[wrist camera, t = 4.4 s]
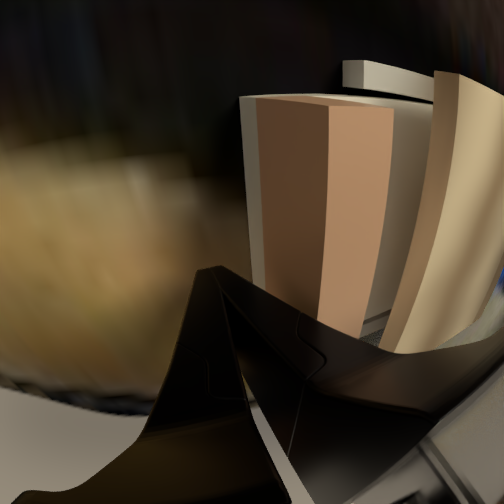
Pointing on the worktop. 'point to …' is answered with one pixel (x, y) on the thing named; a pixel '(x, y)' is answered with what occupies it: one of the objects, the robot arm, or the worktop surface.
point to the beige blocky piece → (333, 199)
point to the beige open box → (446, 208)
